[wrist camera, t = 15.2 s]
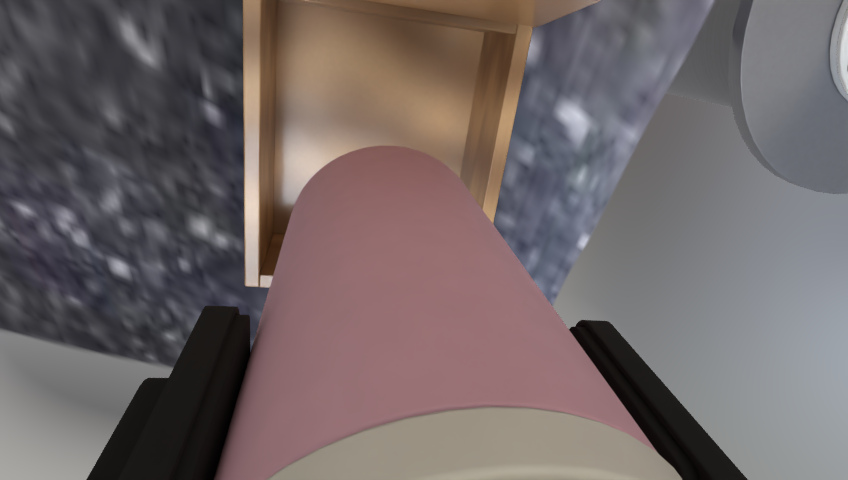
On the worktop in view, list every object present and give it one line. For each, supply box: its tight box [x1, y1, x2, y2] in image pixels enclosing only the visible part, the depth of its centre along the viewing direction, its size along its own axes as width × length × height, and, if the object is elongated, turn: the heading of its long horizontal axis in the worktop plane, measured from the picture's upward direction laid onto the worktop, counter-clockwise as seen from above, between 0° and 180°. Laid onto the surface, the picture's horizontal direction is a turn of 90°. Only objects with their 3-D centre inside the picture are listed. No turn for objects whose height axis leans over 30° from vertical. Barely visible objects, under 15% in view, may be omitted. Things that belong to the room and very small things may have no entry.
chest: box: [243, 0, 533, 288], centre depth 29 cm, size 16×14×7 cm
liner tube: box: [214, 146, 682, 480], centre depth 11 cm, size 6×6×12 cm
